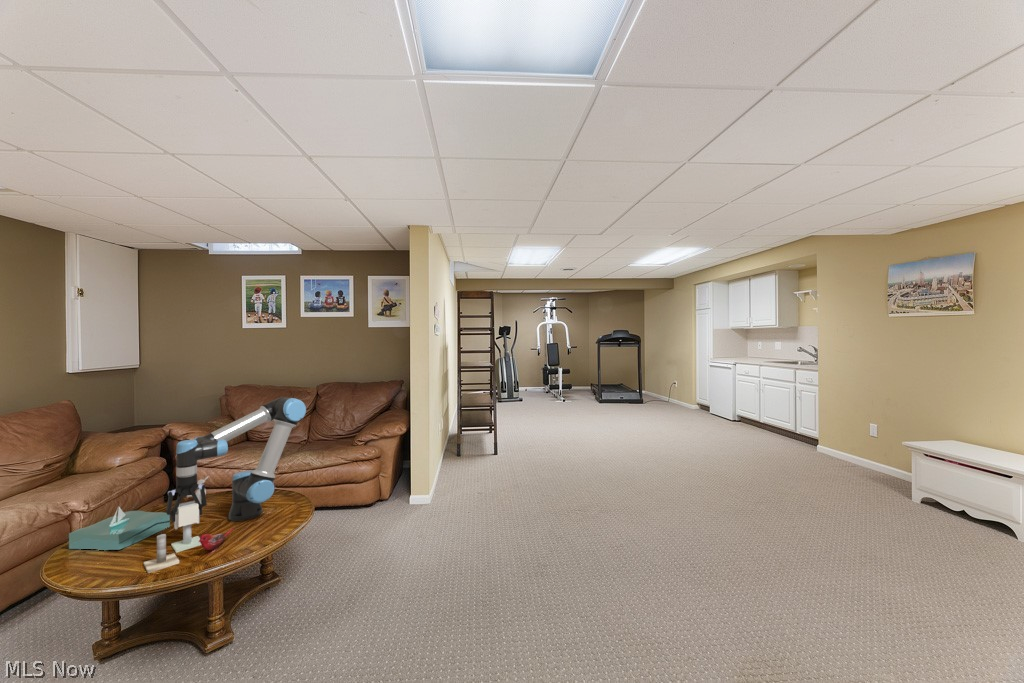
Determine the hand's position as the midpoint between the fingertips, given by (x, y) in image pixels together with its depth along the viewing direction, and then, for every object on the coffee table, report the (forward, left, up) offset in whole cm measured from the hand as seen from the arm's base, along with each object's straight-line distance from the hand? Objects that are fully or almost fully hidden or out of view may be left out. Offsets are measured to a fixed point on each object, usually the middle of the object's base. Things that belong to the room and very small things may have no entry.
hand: (186, 525), depth 193 cm
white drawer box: (0, 0, +1) cm, 1 cm away
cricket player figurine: (-52, +15, -9) cm, 55 cm away
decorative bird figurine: (+16, +8, -9) cm, 20 cm away
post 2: (0, 0, -9) cm, 9 cm away
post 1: (+12, -11, -9) cm, 19 cm away
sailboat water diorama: (-35, -18, -10) cm, 40 cm away
